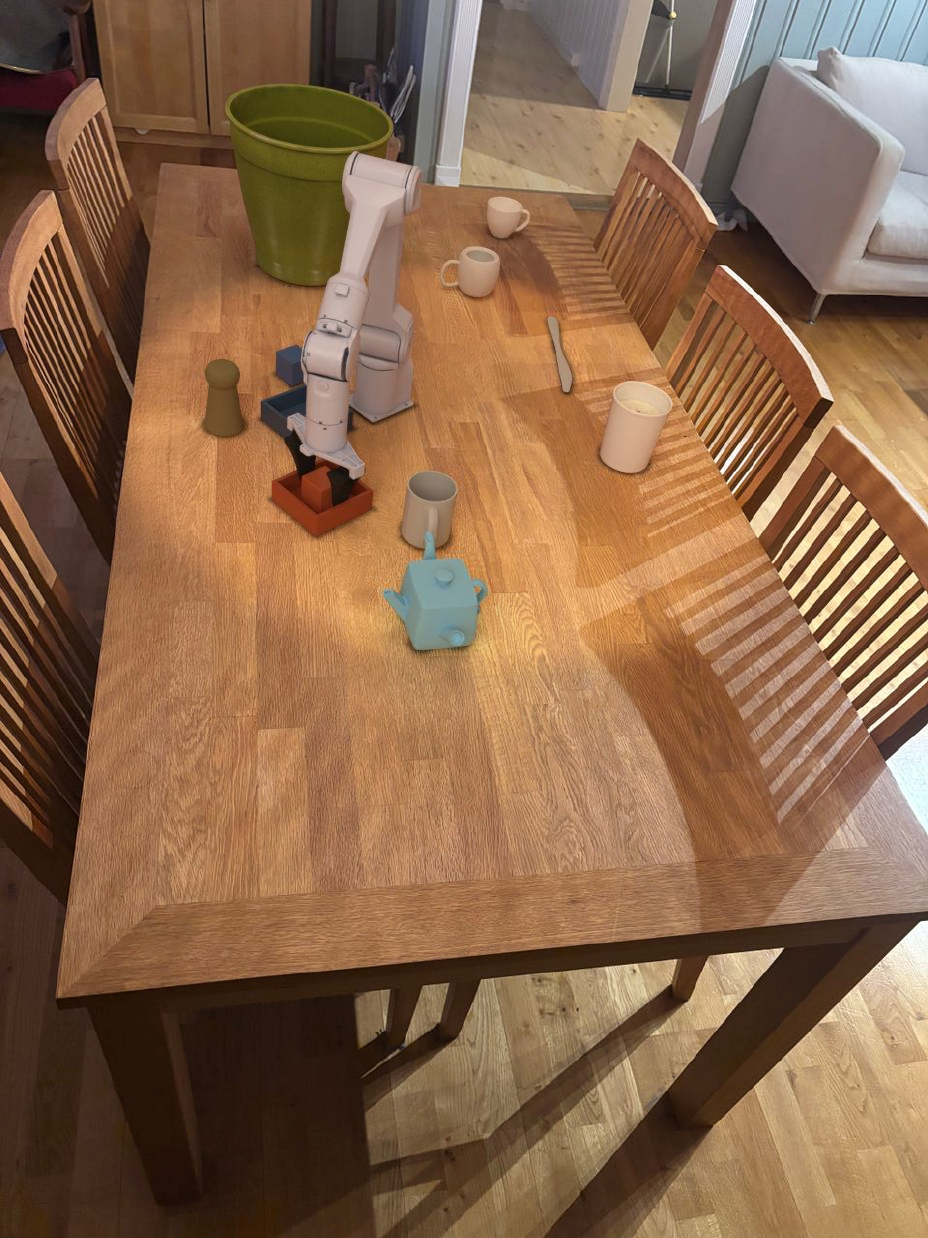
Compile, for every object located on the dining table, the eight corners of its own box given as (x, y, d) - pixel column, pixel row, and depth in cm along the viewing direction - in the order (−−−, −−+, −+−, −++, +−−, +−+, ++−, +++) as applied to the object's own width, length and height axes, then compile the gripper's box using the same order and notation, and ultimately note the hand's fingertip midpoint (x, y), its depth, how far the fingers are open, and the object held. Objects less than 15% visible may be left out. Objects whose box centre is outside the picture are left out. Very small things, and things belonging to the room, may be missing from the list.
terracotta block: (323, 488, 146) (325, 465, 143) (343, 504, 144) (344, 480, 141) (300, 499, 143) (301, 475, 140) (320, 515, 141) (321, 491, 138)
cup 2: (480, 224, 220) (485, 195, 215) (522, 228, 222) (528, 198, 217) (486, 240, 214) (491, 210, 210) (529, 243, 217) (535, 214, 212)
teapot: (496, 674, 126) (510, 620, 118) (390, 684, 122) (398, 629, 115) (462, 578, 137) (473, 523, 130) (364, 584, 133) (370, 529, 126)
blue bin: (312, 398, 162) (313, 380, 160) (352, 428, 158) (353, 410, 156) (260, 419, 156) (260, 400, 154) (300, 451, 152) (301, 432, 150)
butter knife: (561, 316, 194) (547, 314, 193) (575, 393, 175) (559, 390, 175) (560, 319, 194) (546, 316, 194) (574, 395, 176) (558, 393, 175)
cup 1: (447, 519, 146) (456, 472, 139) (452, 565, 139) (461, 517, 133) (399, 516, 145) (406, 468, 138) (401, 562, 138) (408, 513, 131)
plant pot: (211, 235, 197) (206, 82, 177) (349, 228, 209) (359, 84, 188) (254, 309, 180) (253, 149, 159) (402, 296, 191) (418, 146, 171)
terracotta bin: (327, 473, 149) (328, 455, 147) (371, 508, 145) (373, 490, 142) (271, 499, 143) (271, 480, 140) (316, 536, 139) (317, 518, 136)
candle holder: (658, 454, 166) (680, 394, 158) (642, 483, 159) (663, 422, 151) (605, 434, 168) (624, 373, 160) (587, 462, 161) (605, 400, 153)
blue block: (295, 366, 168) (296, 344, 165) (312, 378, 167) (313, 356, 163) (275, 374, 166) (275, 351, 163) (291, 386, 164) (292, 363, 161)
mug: (489, 281, 201) (496, 244, 196) (499, 302, 196) (506, 265, 190) (433, 279, 198) (438, 242, 192) (441, 300, 192) (447, 263, 187)
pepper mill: (235, 439, 152) (234, 378, 144) (198, 430, 152) (195, 369, 144) (249, 419, 156) (248, 358, 148) (213, 410, 156) (210, 349, 148)
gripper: (270, 396, 133) (269, 475, 143) (339, 449, 127) (334, 528, 137) (310, 381, 137) (307, 459, 147) (379, 432, 131) (371, 509, 141)
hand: (322, 491), depth 142 cm, fingers open, 7 cm apart
